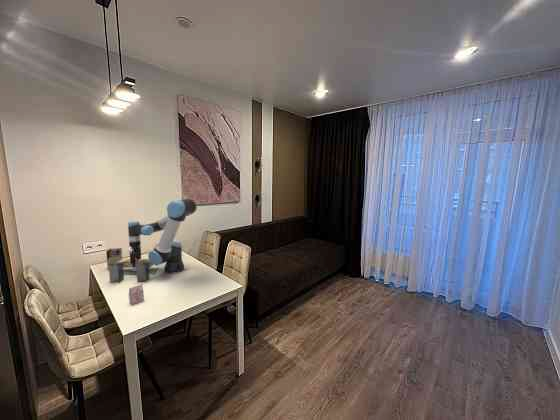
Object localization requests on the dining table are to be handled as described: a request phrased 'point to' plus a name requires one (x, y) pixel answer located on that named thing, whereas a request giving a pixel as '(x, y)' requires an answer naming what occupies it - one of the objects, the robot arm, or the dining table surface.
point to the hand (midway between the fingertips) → (136, 269)
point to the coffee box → (113, 256)
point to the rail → (129, 265)
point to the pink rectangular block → (136, 294)
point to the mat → (130, 271)
